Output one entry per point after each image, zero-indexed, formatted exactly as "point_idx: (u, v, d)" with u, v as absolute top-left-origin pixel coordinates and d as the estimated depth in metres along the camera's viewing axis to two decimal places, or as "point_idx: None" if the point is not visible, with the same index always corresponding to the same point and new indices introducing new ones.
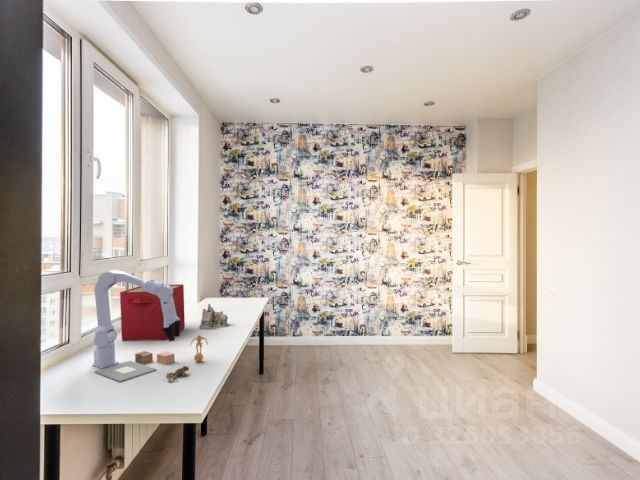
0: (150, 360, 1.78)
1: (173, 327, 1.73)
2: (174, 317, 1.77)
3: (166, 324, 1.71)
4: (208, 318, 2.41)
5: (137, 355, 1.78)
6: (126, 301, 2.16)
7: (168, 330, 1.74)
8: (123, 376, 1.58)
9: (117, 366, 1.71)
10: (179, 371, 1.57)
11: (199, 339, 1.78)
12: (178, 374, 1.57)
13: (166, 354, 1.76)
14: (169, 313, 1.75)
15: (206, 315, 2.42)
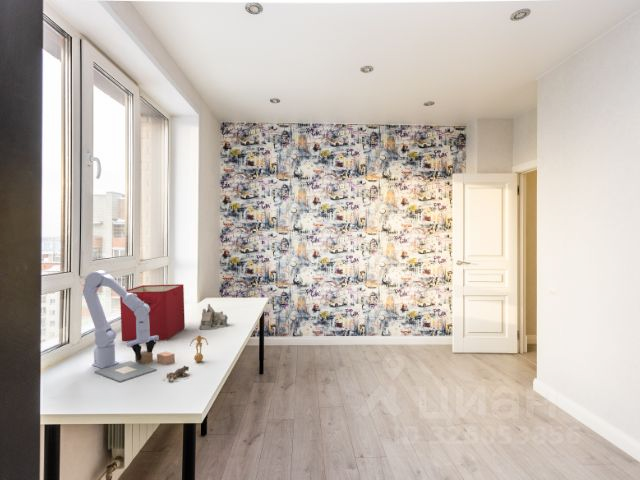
0: (150, 360, 1.78)
1: (137, 348, 1.74)
2: (143, 338, 1.76)
3: (128, 344, 1.73)
4: (208, 318, 2.40)
5: None
6: None
7: None
8: (123, 376, 1.58)
9: (117, 366, 1.71)
10: (179, 371, 1.57)
11: (199, 339, 1.78)
12: (178, 374, 1.57)
13: (166, 354, 1.76)
14: (138, 333, 1.76)
15: (206, 315, 2.42)
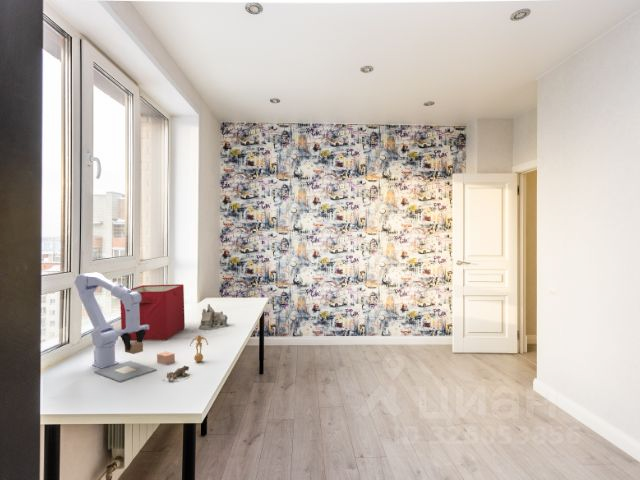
0: (140, 350, 1.71)
1: (126, 337, 1.66)
2: (132, 327, 1.69)
3: (117, 333, 1.65)
4: (208, 318, 2.40)
5: None
6: None
7: None
8: (123, 376, 1.58)
9: (117, 366, 1.71)
10: (179, 371, 1.57)
11: (199, 339, 1.78)
12: (178, 374, 1.57)
13: (166, 354, 1.76)
14: (128, 322, 1.69)
15: (205, 316, 2.42)
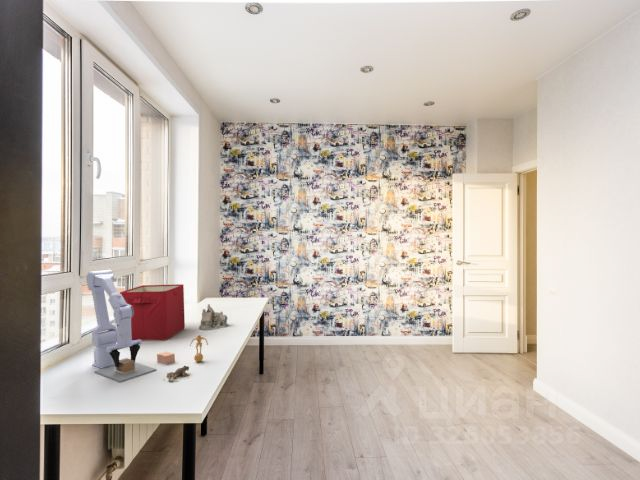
0: (132, 368, 1.65)
1: (115, 354, 1.60)
2: (124, 342, 1.63)
3: (107, 349, 1.60)
4: (208, 318, 2.39)
5: None
6: (126, 301, 2.16)
7: None
8: (123, 376, 1.58)
9: None
10: (179, 371, 1.58)
11: (199, 339, 1.78)
12: (178, 374, 1.57)
13: (166, 354, 1.76)
14: (119, 337, 1.63)
15: (205, 316, 2.41)
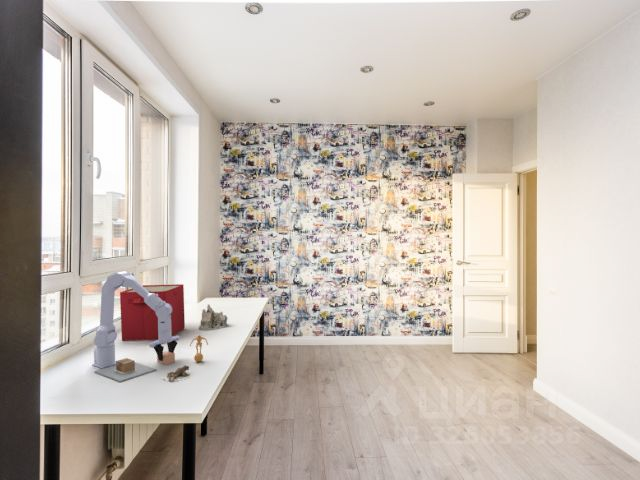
0: (132, 368, 1.65)
1: (159, 348, 1.72)
2: (165, 338, 1.75)
3: (151, 344, 1.71)
4: (208, 319, 2.39)
5: (118, 363, 1.65)
6: (126, 301, 2.16)
7: None
8: (123, 376, 1.58)
9: None
10: (179, 370, 1.58)
11: (199, 339, 1.78)
12: (178, 373, 1.57)
13: (166, 354, 1.76)
14: (160, 333, 1.75)
15: (205, 316, 2.40)
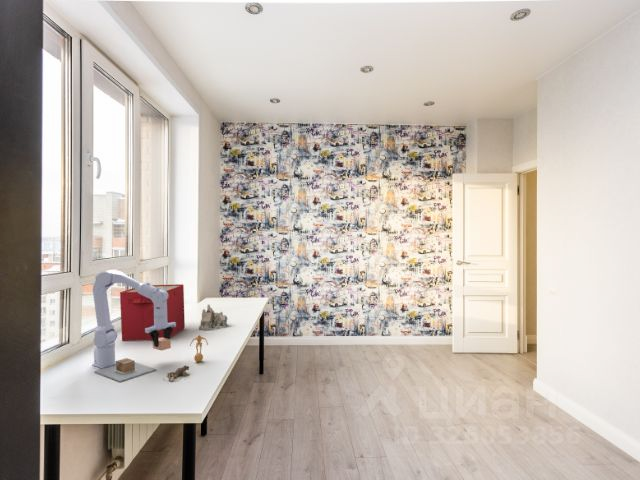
0: (132, 368, 1.65)
1: (155, 334, 1.71)
2: (160, 324, 1.74)
3: (146, 330, 1.70)
4: (208, 319, 2.38)
5: (118, 363, 1.65)
6: (126, 301, 2.16)
7: None
8: (123, 376, 1.58)
9: None
10: (180, 370, 1.58)
11: (199, 339, 1.78)
12: (179, 373, 1.57)
13: (162, 340, 1.75)
14: (156, 319, 1.73)
15: (205, 316, 2.40)
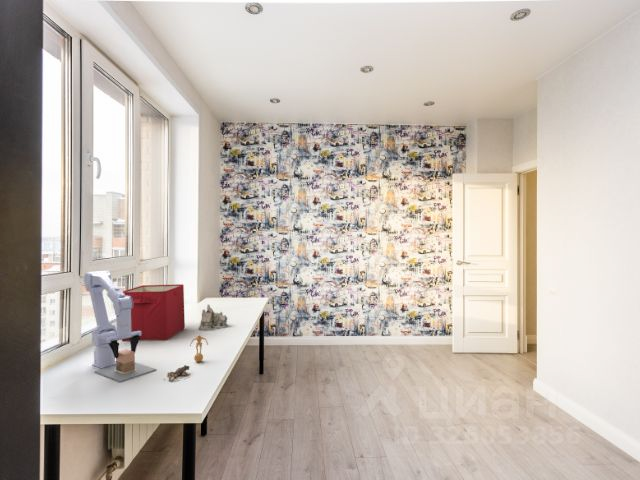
0: (132, 368, 1.65)
1: (114, 344, 1.60)
2: (123, 333, 1.63)
3: (107, 339, 1.60)
4: (208, 319, 2.38)
5: (118, 363, 1.65)
6: None
7: None
8: (123, 376, 1.58)
9: None
10: (180, 370, 1.58)
11: (199, 339, 1.78)
12: (179, 373, 1.58)
13: (125, 352, 1.65)
14: (119, 328, 1.63)
15: (205, 316, 2.40)
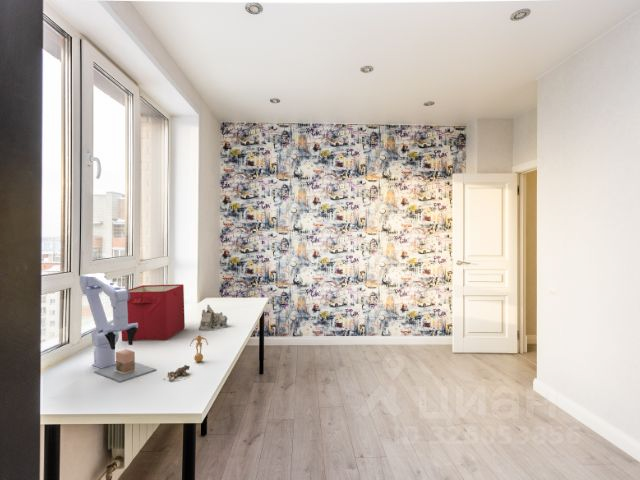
0: (132, 368, 1.65)
1: (110, 336, 1.61)
2: (120, 325, 1.65)
3: (104, 331, 1.61)
4: (208, 319, 2.37)
5: (118, 363, 1.65)
6: None
7: None
8: (123, 376, 1.58)
9: None
10: (180, 370, 1.58)
11: (199, 339, 1.78)
12: (179, 373, 1.58)
13: (125, 352, 1.65)
14: (115, 319, 1.64)
15: (205, 316, 2.39)
